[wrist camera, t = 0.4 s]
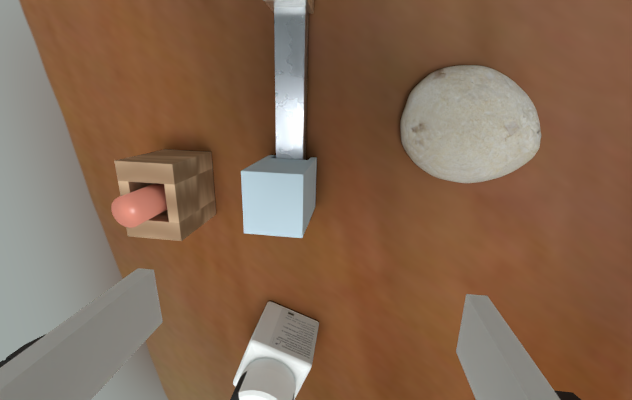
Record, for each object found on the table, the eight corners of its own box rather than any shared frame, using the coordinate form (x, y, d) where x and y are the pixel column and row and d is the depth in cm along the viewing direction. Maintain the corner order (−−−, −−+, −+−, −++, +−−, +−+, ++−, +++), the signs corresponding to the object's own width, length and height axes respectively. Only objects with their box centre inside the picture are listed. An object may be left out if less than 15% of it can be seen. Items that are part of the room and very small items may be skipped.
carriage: (269, 155, 35) (240, 170, 26) (316, 157, 34) (303, 174, 26) (270, 203, 37) (244, 233, 28) (315, 206, 36) (302, 238, 27)
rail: (274, -4, 30) (262, -20, 26) (313, -5, 29) (307, -21, 26) (277, 218, 37) (267, 231, 33) (308, 221, 37) (302, 234, 33)
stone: (395, 120, 36) (378, 161, 32) (435, 38, 28) (420, 78, 24) (497, 161, 35) (495, 211, 30) (569, 88, 27) (581, 140, 22)
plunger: (163, 175, 34) (108, 195, 27) (188, 176, 34) (139, 197, 26) (167, 200, 35) (114, 226, 28) (190, 202, 35) (144, 228, 27)
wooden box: (164, 149, 36) (114, 160, 29) (211, 151, 36) (172, 164, 28) (172, 210, 39) (127, 236, 31) (216, 214, 38) (181, 240, 31)
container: (300, 359, 44) (278, 459, 31) (252, 339, 44) (211, 430, 31) (320, 321, 41) (304, 412, 29) (268, 299, 41) (231, 381, 29)
